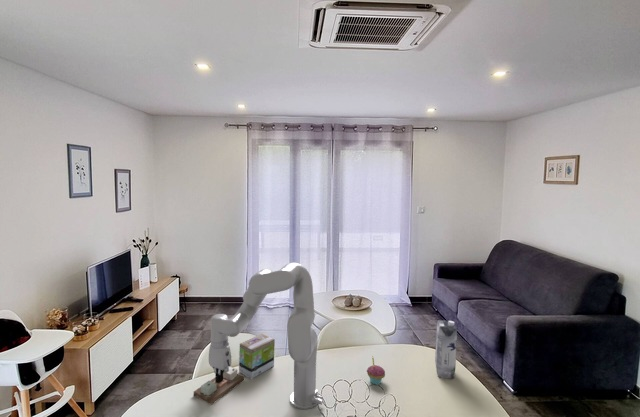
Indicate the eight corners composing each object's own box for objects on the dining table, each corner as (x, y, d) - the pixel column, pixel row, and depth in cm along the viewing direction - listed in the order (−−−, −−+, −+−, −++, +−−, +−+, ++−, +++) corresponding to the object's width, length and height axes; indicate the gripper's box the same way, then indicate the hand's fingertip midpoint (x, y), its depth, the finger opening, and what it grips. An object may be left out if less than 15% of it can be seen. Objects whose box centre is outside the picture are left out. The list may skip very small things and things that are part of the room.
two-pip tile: (237, 375, 158) (237, 369, 157) (230, 380, 154) (230, 373, 153) (230, 372, 160) (230, 366, 160) (223, 377, 156) (223, 371, 156)
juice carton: (436, 378, 162) (438, 324, 160) (434, 366, 172) (436, 316, 170) (455, 380, 160) (458, 326, 158) (452, 369, 170) (455, 317, 168)
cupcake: (364, 383, 157) (364, 358, 156) (370, 374, 164) (370, 350, 163) (381, 388, 153) (382, 363, 152) (387, 379, 160) (388, 355, 159)
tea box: (252, 379, 158) (252, 349, 157) (238, 372, 164) (238, 343, 163) (274, 366, 170) (275, 338, 169) (261, 359, 176) (261, 332, 175)
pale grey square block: (216, 390, 146) (216, 383, 146) (208, 395, 142) (208, 388, 142) (209, 386, 148) (209, 380, 148) (200, 392, 144) (200, 385, 144)
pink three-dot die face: (227, 386, 152) (227, 380, 152) (219, 392, 148) (219, 385, 148) (220, 383, 154) (220, 377, 154) (212, 389, 150) (212, 382, 150)
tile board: (244, 380, 157) (244, 376, 157) (211, 404, 140) (211, 399, 140) (227, 373, 163) (227, 369, 162) (193, 395, 145) (193, 391, 145)
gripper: (237, 343, 149) (237, 382, 151) (213, 335, 156) (213, 372, 158) (225, 350, 143) (225, 391, 144) (201, 341, 150) (201, 380, 151)
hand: (219, 381), depth 151 cm, fingers closed
